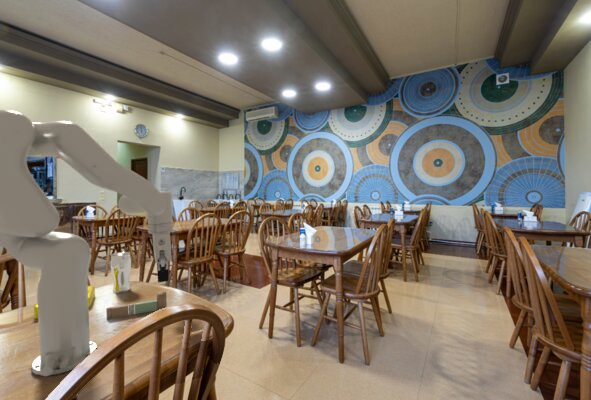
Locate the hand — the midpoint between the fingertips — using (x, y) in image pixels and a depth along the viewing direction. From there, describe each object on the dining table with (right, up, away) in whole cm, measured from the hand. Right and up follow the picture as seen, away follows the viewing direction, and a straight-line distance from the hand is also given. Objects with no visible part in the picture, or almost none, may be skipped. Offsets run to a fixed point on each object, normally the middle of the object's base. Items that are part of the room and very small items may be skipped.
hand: (162, 276), depth 97 cm
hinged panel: (-3, -11, -1) cm, 12 cm away
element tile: (-35, -12, +3) cm, 37 cm away
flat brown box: (-7, -12, -1) cm, 14 cm away
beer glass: (-25, -11, +18) cm, 32 cm away
